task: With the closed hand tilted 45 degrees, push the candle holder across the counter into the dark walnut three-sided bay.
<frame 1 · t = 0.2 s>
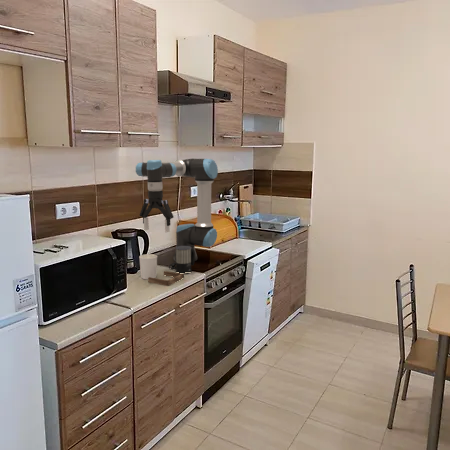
hand: (156, 231, 225), 28 cm above the worktop, tool pointing down, fingers open, 13 cm apart
candle holder: (148, 277, 238), on the worktop
walnut bay: (165, 280, 233), on the worktop
milk frother: (179, 271, 253), on the worktop
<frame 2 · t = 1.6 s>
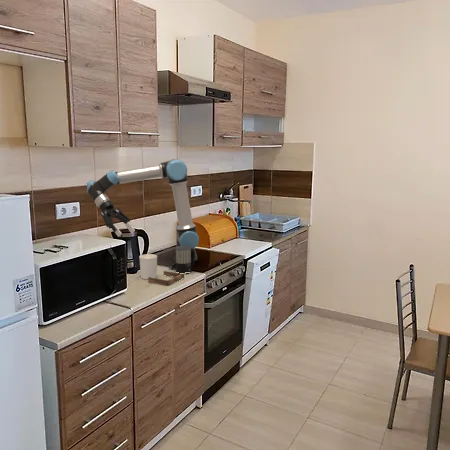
hand: (126, 233, 241), 23 cm above the worktop, tool tilted 45°, fingers open, 11 cm apart
nothing on the worktop moved.
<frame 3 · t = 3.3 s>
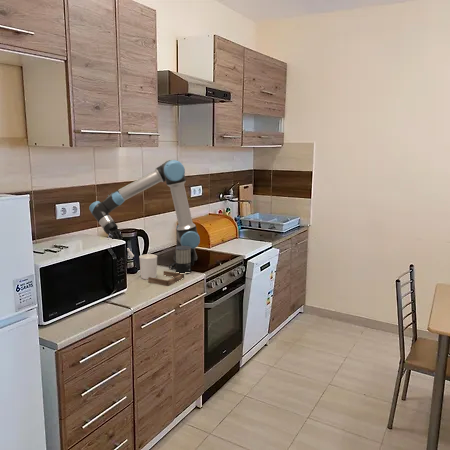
hand: (132, 257, 241), 10 cm above the worktop, tool tilted 45°, fingers closed
nothing on the worktop moved.
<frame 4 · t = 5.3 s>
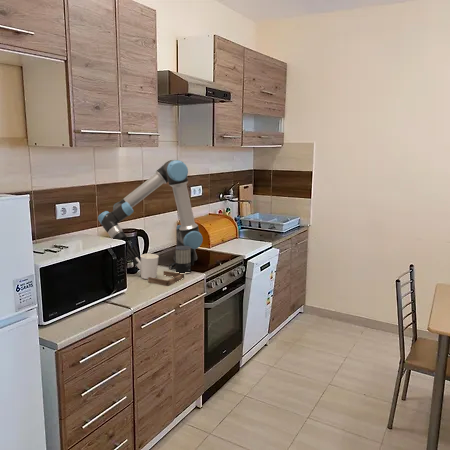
hand: (141, 268, 239), 5 cm above the worktop, tool tilted 45°, fingers closed
candle holder: (148, 277, 238), on the worktop, touching gripper
everything else where it was.
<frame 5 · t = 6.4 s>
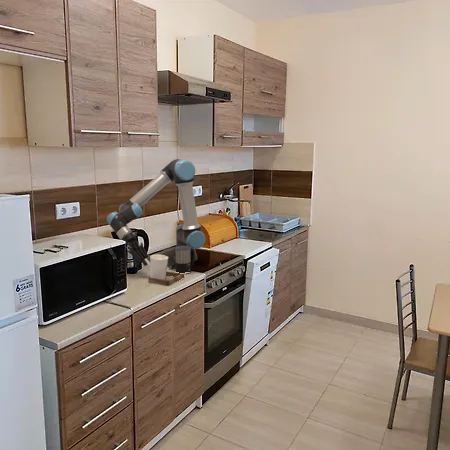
hand: (151, 269, 236), 5 cm above the worktop, tool tilted 45°, fingers closed
candle holder: (157, 278, 236), on the worktop, touching gripper
everything else where it was.
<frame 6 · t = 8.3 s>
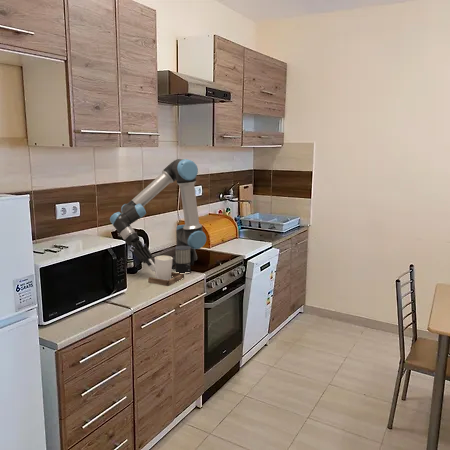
hand: (155, 269, 235), 5 cm above the worktop, tool tilted 45°, fingers closed
candle holder: (163, 279, 235), on the worktop
everything else where it was.
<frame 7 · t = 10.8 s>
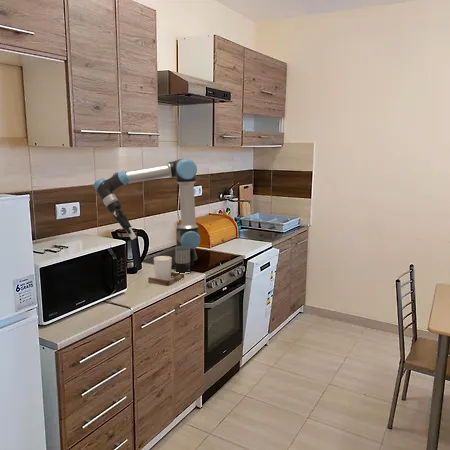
hand: (134, 238, 243), 20 cm above the worktop, tool tilted 35°, fingers closed
nothing on the worktop moved.
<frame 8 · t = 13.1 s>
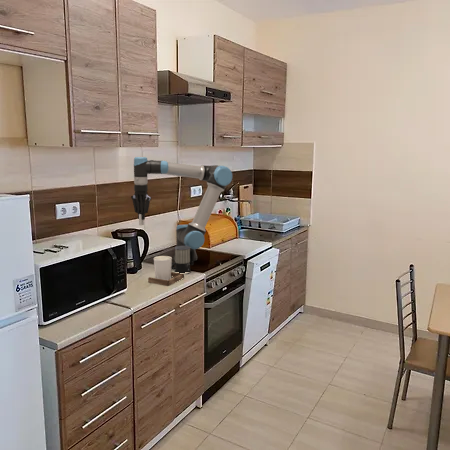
hand: (141, 225, 250), 26 cm above the worktop, tool pointing down, fingers closed
nothing on the worktop moved.
at the end: candle holder inside the target area on the walnut bay (1.8 cm from its centre), point 0.0 cm above the walnut bay's base; candle holder tilted 0° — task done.
